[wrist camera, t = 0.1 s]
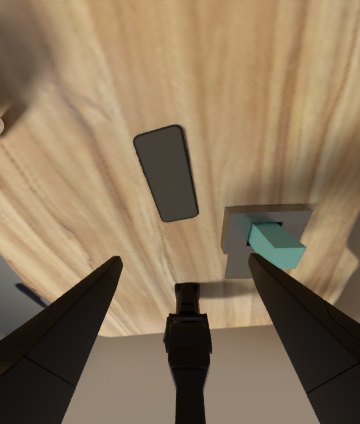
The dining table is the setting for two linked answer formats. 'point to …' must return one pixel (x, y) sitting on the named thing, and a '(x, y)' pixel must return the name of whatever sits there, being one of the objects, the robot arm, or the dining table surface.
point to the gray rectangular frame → (245, 215)
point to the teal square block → (276, 244)
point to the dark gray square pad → (238, 267)
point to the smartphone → (167, 172)
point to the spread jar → (1, 125)
